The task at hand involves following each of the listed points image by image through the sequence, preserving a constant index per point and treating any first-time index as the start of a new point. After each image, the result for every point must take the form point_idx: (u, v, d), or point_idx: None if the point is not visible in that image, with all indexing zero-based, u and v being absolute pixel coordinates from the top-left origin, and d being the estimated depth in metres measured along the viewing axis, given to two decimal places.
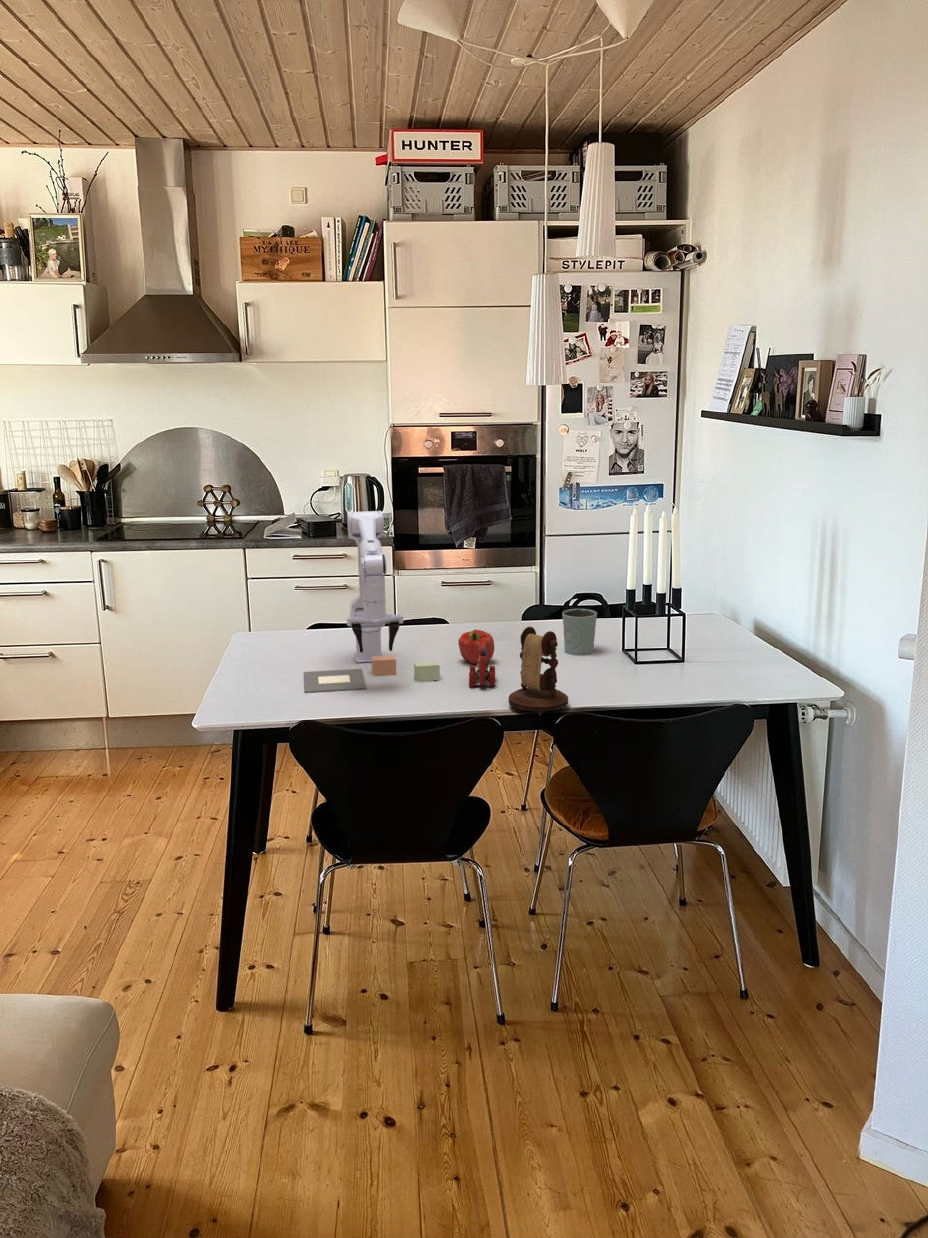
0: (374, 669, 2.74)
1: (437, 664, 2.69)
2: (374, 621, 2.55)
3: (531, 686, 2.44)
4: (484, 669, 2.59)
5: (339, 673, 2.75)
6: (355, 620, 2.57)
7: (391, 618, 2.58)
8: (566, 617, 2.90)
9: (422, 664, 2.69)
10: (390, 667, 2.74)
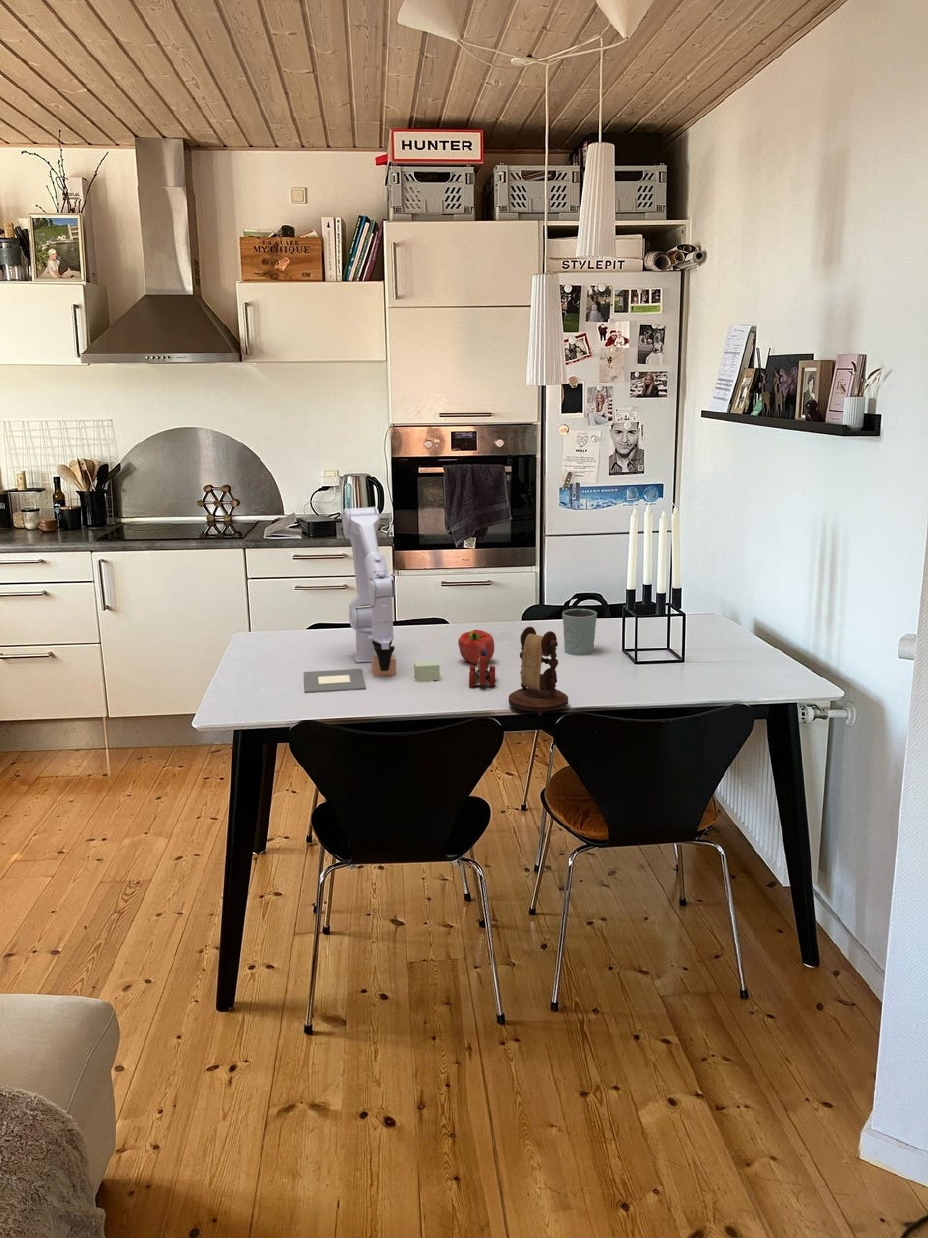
0: (374, 669, 2.74)
1: (437, 664, 2.69)
2: (368, 637, 2.74)
3: (531, 686, 2.44)
4: (484, 669, 2.59)
5: (339, 673, 2.75)
6: None
7: (378, 641, 2.70)
8: (566, 617, 2.90)
9: (422, 664, 2.69)
10: (390, 667, 2.74)
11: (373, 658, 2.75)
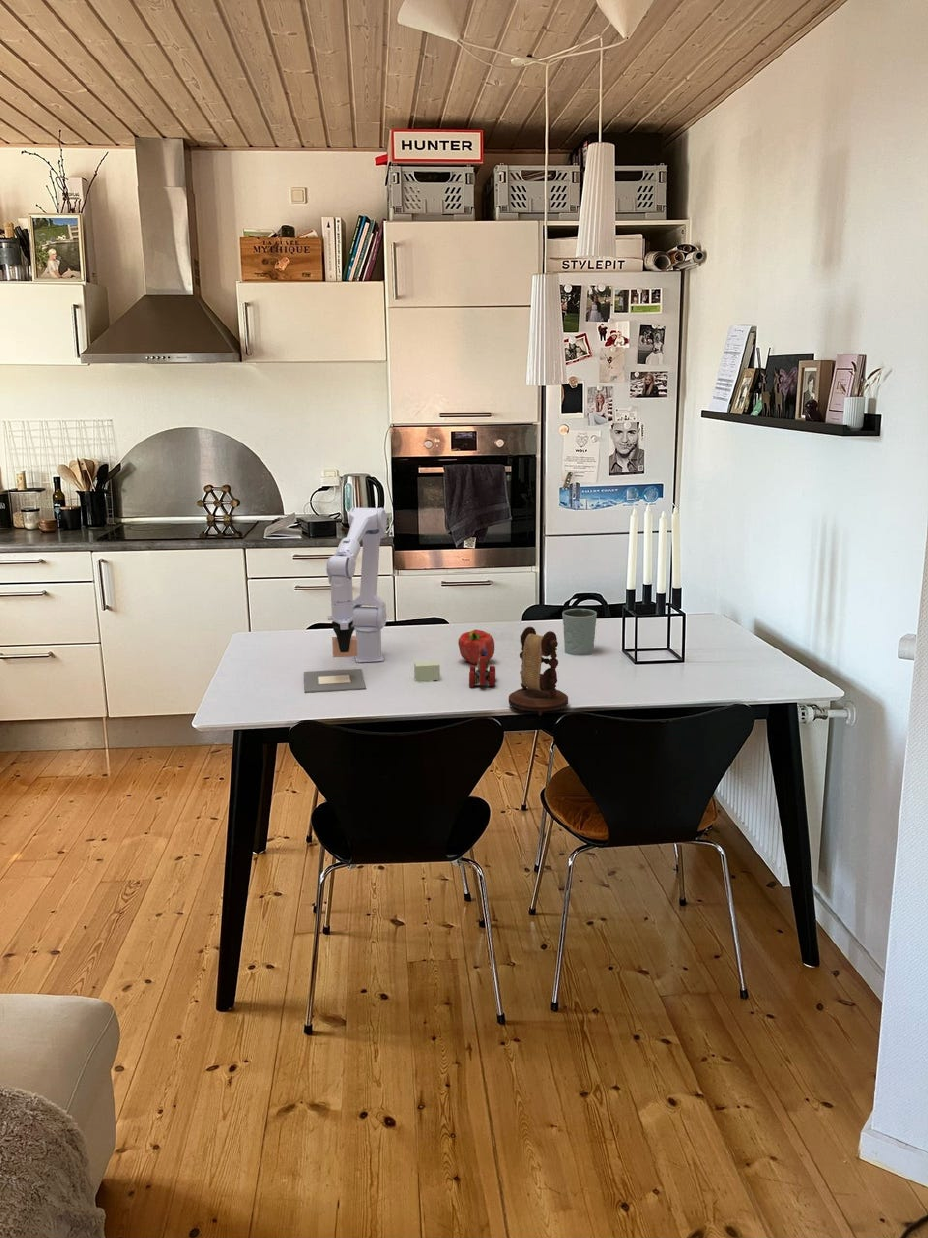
0: (334, 650, 2.66)
1: (437, 664, 2.69)
2: None
3: (531, 686, 2.44)
4: (484, 669, 2.59)
5: (339, 673, 2.75)
6: None
7: (337, 621, 2.63)
8: (566, 617, 2.90)
9: (422, 664, 2.69)
10: (351, 648, 2.67)
11: (333, 639, 2.67)
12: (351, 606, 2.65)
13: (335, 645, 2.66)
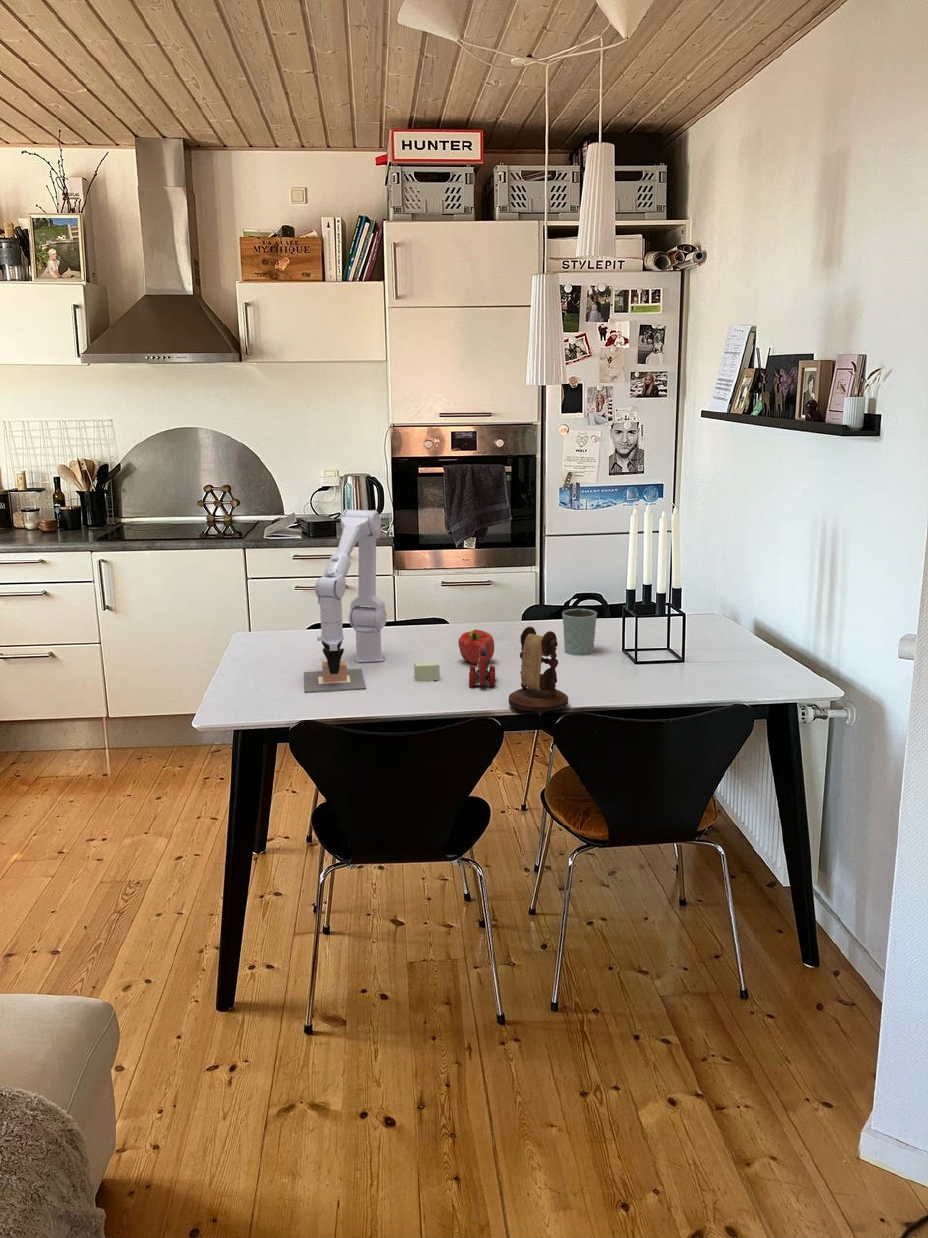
0: (324, 675, 2.67)
1: (437, 664, 2.69)
2: (317, 638, 2.67)
3: (531, 686, 2.44)
4: (484, 669, 2.59)
5: None
6: None
7: (326, 642, 2.63)
8: (566, 617, 2.90)
9: (422, 664, 2.69)
10: (341, 673, 2.67)
11: (323, 664, 2.68)
12: (341, 627, 2.65)
13: (325, 670, 2.66)
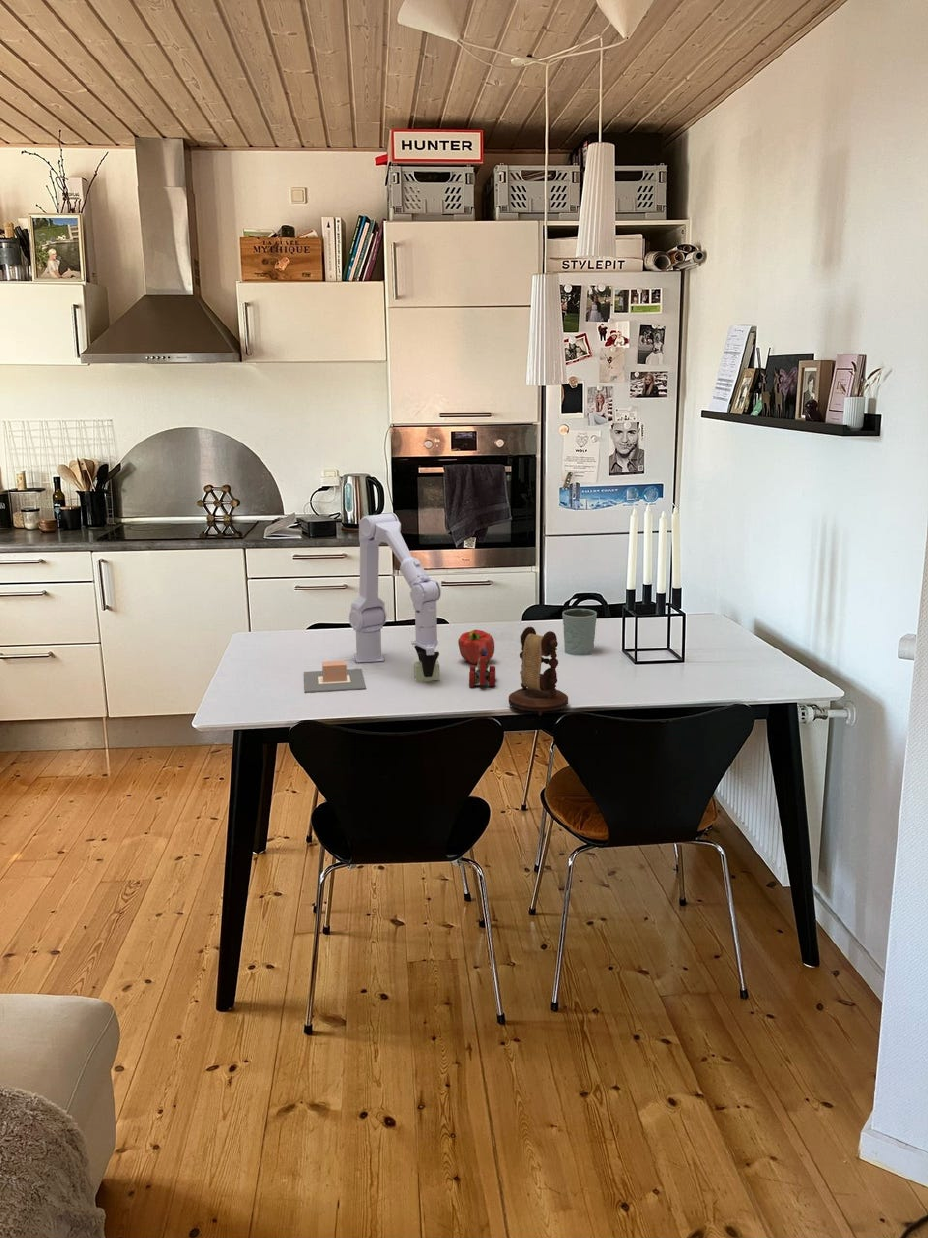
0: (324, 675, 2.67)
1: (437, 664, 2.69)
2: (411, 642, 2.68)
3: (531, 686, 2.44)
4: (484, 669, 2.59)
5: None
6: None
7: (422, 646, 2.64)
8: (566, 617, 2.90)
9: None
10: (341, 673, 2.67)
11: (323, 664, 2.68)
12: (435, 631, 2.67)
13: (325, 670, 2.66)
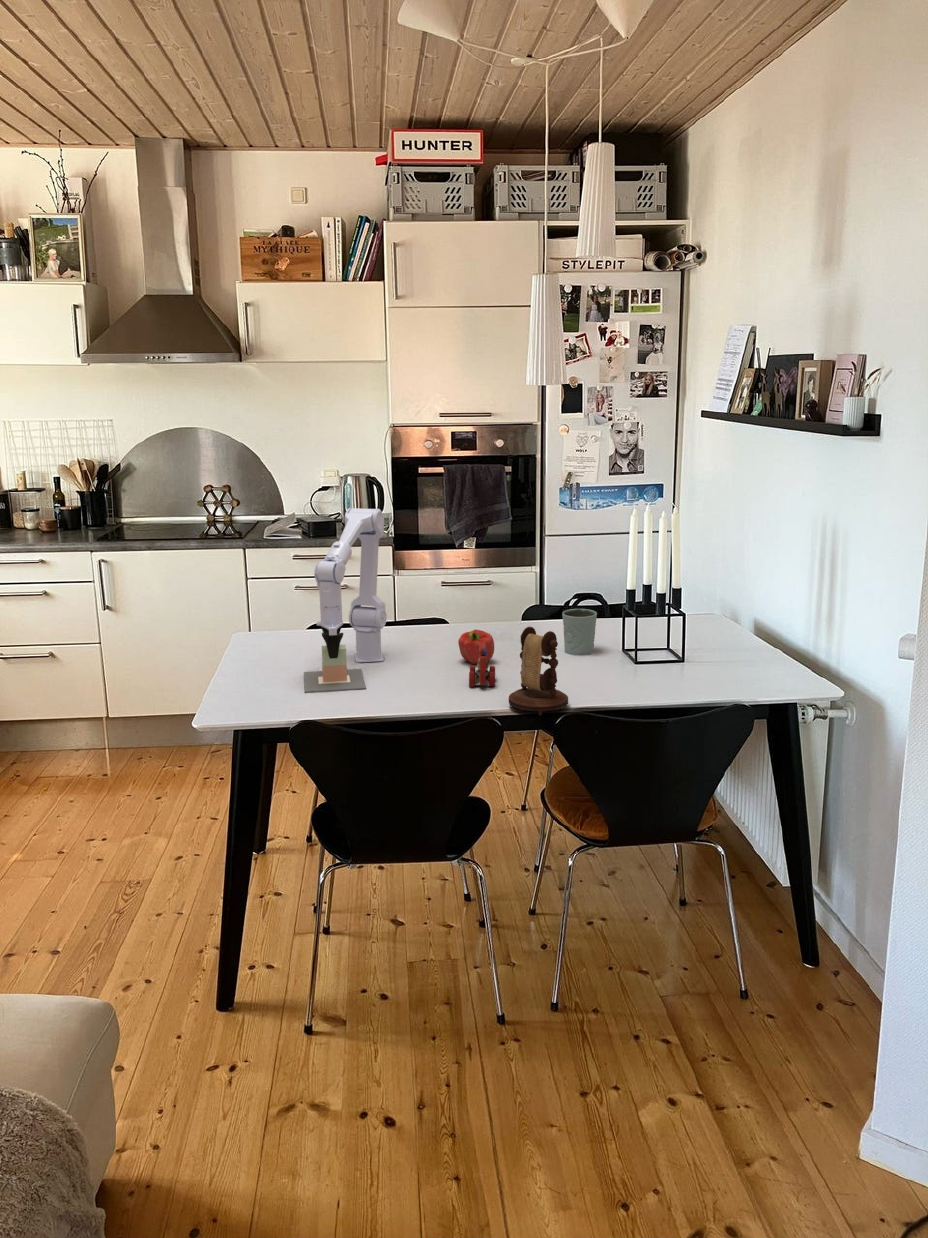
0: (324, 675, 2.67)
1: (344, 648, 2.67)
2: None
3: (531, 686, 2.44)
4: (484, 669, 2.59)
5: None
6: None
7: (325, 626, 2.62)
8: (566, 617, 2.90)
9: None
10: (341, 673, 2.67)
11: None
12: (340, 611, 2.64)
13: (325, 670, 2.66)
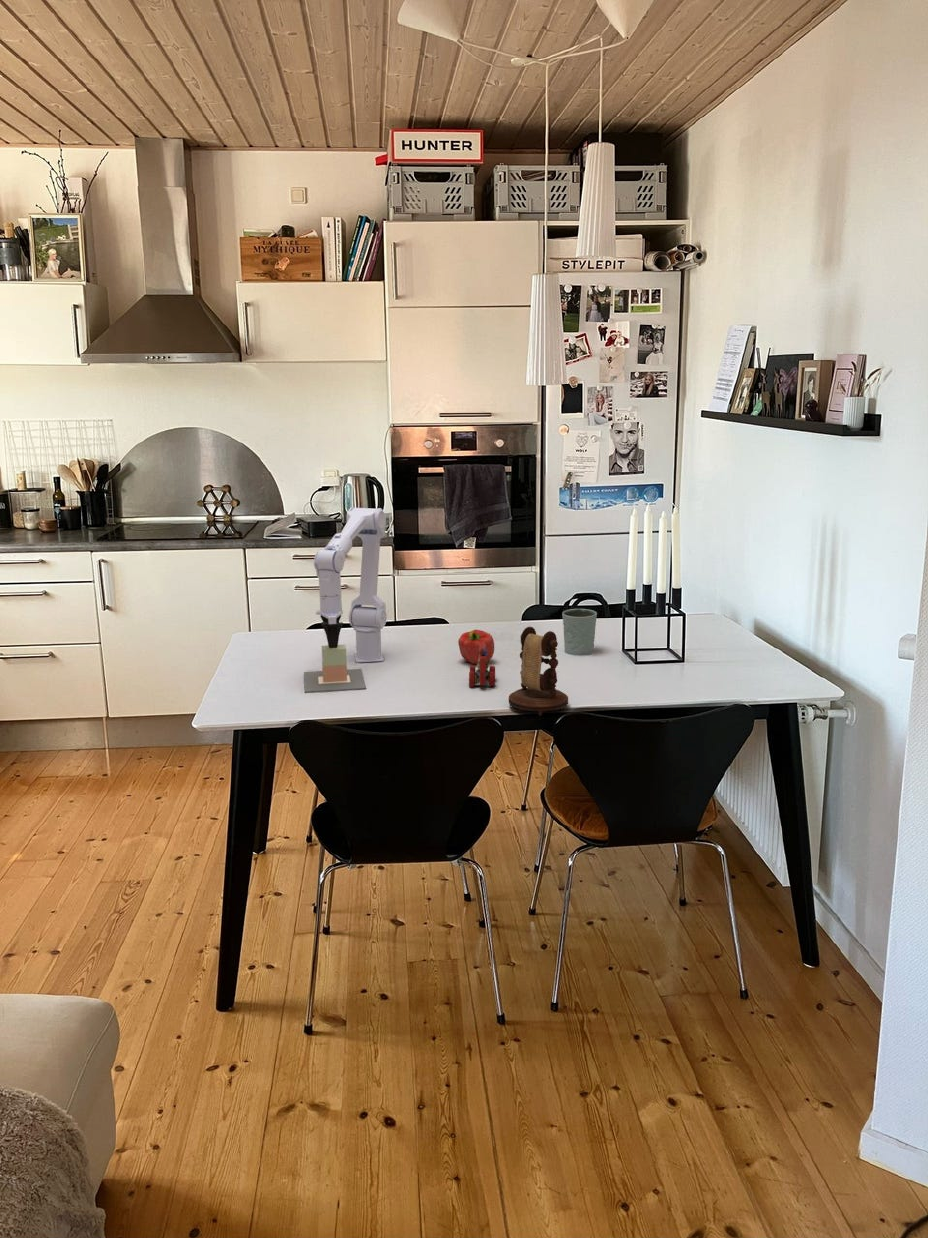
0: (324, 675, 2.67)
1: (344, 648, 2.67)
2: (316, 612, 2.65)
3: (531, 686, 2.44)
4: (484, 669, 2.59)
5: None
6: None
7: (325, 615, 2.61)
8: (566, 617, 2.90)
9: (329, 648, 2.67)
10: (341, 673, 2.67)
11: None
12: (339, 600, 2.63)
13: (325, 670, 2.66)
